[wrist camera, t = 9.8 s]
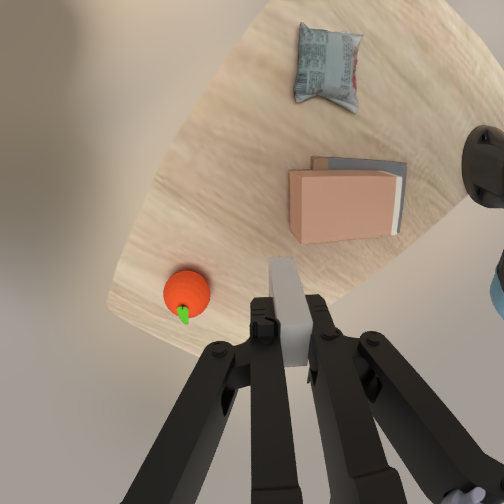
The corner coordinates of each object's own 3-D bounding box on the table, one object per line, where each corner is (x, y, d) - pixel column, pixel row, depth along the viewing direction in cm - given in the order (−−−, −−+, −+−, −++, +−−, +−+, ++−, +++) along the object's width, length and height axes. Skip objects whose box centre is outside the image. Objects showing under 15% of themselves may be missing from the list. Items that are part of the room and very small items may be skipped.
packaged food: (356, 40, 28) (370, 30, 23) (351, 114, 33) (365, 113, 28) (296, 27, 28) (302, 14, 23) (289, 103, 32) (295, 99, 28)
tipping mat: (405, 163, 35) (410, 164, 34) (398, 231, 40) (402, 235, 38) (310, 156, 35) (313, 157, 34) (308, 233, 40) (311, 237, 38)
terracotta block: (289, 170, 34) (381, 170, 35) (290, 230, 37) (377, 222, 39) (301, 177, 29) (402, 177, 31) (301, 244, 33) (396, 234, 34)
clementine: (214, 306, 45) (209, 335, 38) (173, 305, 45) (163, 332, 38) (211, 262, 41) (205, 287, 35) (166, 262, 41) (153, 286, 35)
